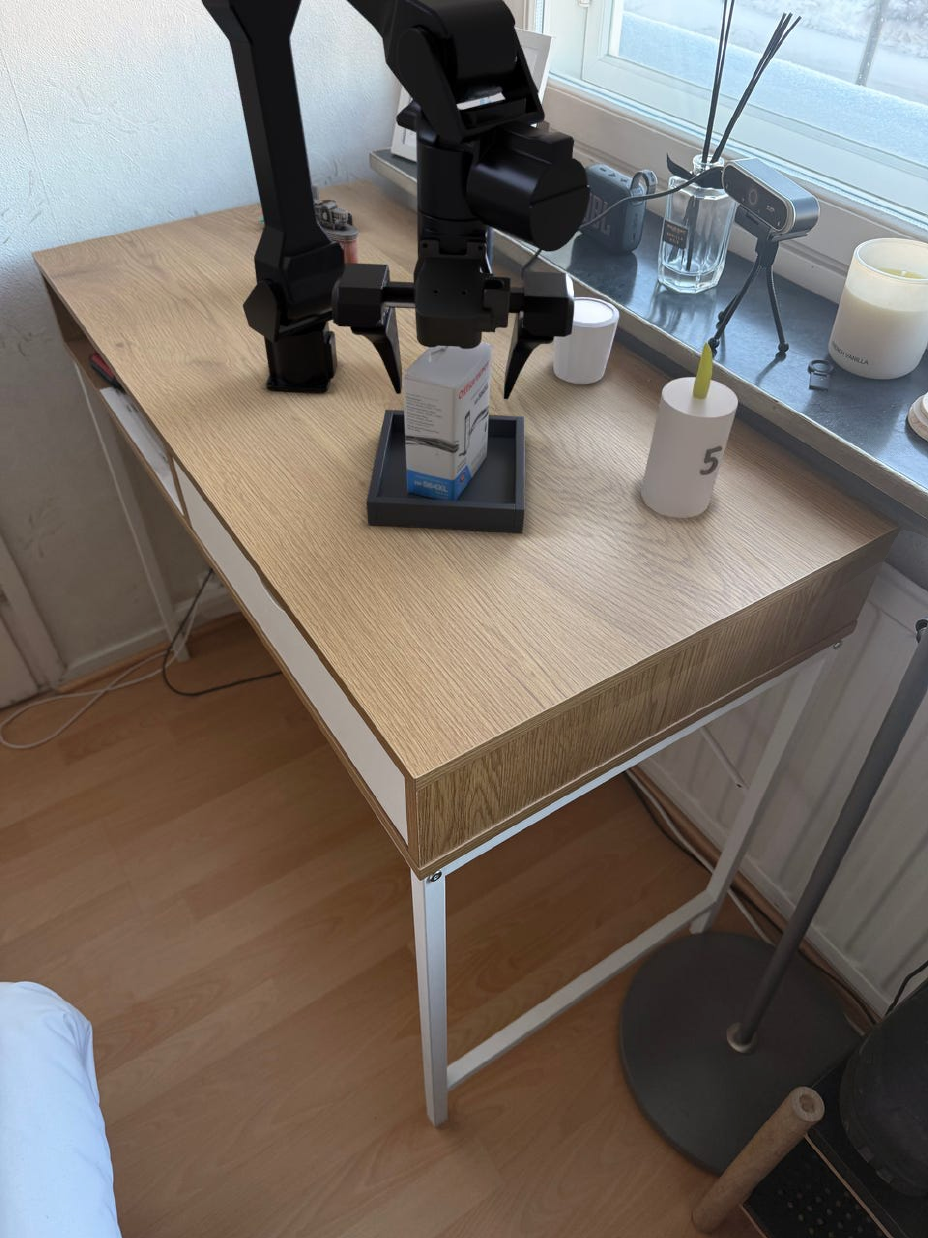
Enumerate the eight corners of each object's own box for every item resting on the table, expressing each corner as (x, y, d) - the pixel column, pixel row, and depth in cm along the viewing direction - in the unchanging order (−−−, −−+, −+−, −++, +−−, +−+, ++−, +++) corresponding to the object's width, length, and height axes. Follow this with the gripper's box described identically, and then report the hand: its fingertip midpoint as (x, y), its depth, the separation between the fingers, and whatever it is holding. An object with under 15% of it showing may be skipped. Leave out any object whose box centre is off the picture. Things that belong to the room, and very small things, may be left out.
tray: (367, 525, 76) (366, 501, 74) (386, 431, 87) (385, 409, 85) (522, 533, 76) (524, 509, 74) (522, 438, 86) (524, 416, 84)
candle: (667, 526, 77) (705, 375, 67) (627, 485, 81) (657, 336, 71) (724, 508, 79) (770, 359, 68) (683, 469, 83) (720, 322, 73)
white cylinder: (607, 390, 93) (617, 329, 88) (543, 382, 94) (550, 321, 89) (612, 359, 98) (622, 299, 93) (551, 352, 99) (558, 292, 94)
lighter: (367, 289, 108) (362, 206, 101) (350, 299, 106) (344, 215, 99) (316, 272, 111) (309, 190, 104) (299, 282, 109) (290, 199, 102)
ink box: (453, 506, 77) (456, 389, 69) (403, 492, 79) (400, 375, 70) (489, 455, 83) (495, 341, 75) (442, 443, 84) (443, 329, 76)
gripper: (310, 245, 58) (329, 442, 69) (588, 257, 58) (563, 453, 69) (335, 185, 66) (349, 370, 77) (581, 196, 66) (559, 380, 77)
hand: (452, 394), depth 75 cm, fingers open, 9 cm apart
